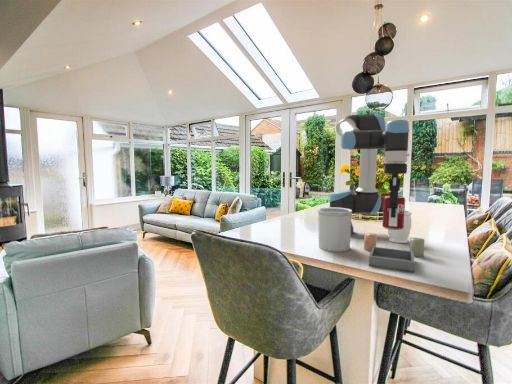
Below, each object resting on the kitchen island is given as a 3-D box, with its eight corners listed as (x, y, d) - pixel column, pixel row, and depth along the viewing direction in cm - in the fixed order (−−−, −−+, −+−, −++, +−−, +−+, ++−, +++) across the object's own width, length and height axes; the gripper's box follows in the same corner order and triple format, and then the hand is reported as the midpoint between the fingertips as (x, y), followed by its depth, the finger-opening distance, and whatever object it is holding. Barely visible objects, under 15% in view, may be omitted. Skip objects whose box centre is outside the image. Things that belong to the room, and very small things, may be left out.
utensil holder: (332, 254, 116) (334, 213, 115) (310, 245, 130) (311, 208, 128) (358, 249, 123) (359, 210, 122) (334, 241, 136) (335, 206, 135)
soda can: (378, 226, 108) (379, 195, 107) (396, 226, 108) (397, 195, 107) (389, 230, 100) (390, 197, 99) (408, 230, 101) (409, 197, 100)
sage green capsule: (409, 256, 114) (410, 239, 113) (409, 253, 118) (410, 237, 117) (424, 258, 111) (425, 241, 111) (423, 254, 116) (424, 238, 115)
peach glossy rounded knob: (363, 250, 122) (363, 234, 121) (364, 247, 126) (365, 232, 126) (375, 251, 120) (376, 236, 119) (376, 249, 124) (377, 233, 123)
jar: (409, 240, 140) (411, 210, 138) (411, 245, 130) (412, 213, 129) (386, 237, 144) (387, 209, 143) (386, 242, 135) (387, 212, 134)
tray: (368, 265, 102) (369, 256, 102) (372, 254, 115) (372, 246, 115) (414, 272, 96) (414, 262, 95) (412, 260, 109) (413, 251, 108)
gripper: (407, 162, 92) (404, 230, 94) (406, 163, 109) (404, 220, 111) (382, 162, 95) (380, 228, 97) (385, 163, 113) (383, 219, 115)
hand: (393, 224), depth 104 cm, fingers closed on soda can, 7 cm apart
